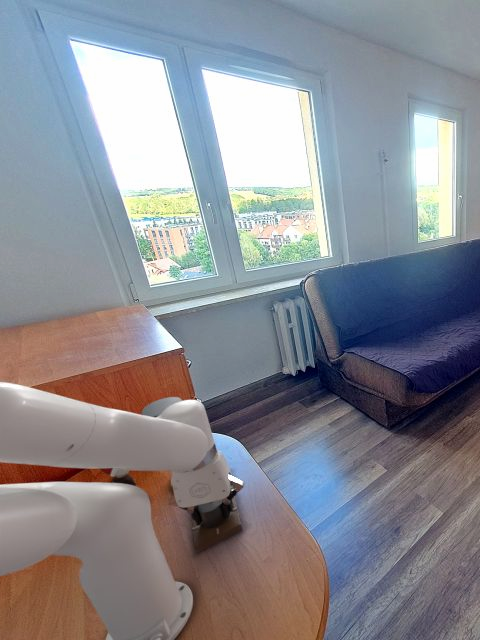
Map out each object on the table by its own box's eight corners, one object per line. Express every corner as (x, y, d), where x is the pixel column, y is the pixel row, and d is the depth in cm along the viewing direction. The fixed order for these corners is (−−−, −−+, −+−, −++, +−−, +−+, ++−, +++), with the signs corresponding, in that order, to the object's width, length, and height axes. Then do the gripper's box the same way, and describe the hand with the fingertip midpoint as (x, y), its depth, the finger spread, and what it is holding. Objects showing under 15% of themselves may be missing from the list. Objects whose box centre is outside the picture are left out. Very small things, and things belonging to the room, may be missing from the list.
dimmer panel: (243, 529, 77) (241, 523, 76) (196, 553, 72) (193, 547, 71) (235, 499, 85) (234, 493, 84) (192, 519, 79) (190, 513, 79)
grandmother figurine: (155, 498, 85) (140, 459, 80) (142, 511, 81) (125, 472, 77) (128, 495, 86) (111, 457, 81) (113, 508, 82) (95, 469, 78)
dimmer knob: (225, 524, 76) (220, 507, 74) (200, 531, 75) (194, 514, 73) (229, 506, 81) (225, 490, 79) (206, 512, 79) (200, 496, 77)
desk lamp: (205, 482, 90) (182, 408, 81) (169, 497, 85) (140, 420, 77) (203, 464, 96) (181, 393, 87) (168, 477, 91) (142, 404, 83)
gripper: (139, 478, 65) (165, 542, 72) (237, 458, 70) (252, 520, 77) (155, 452, 72) (178, 512, 78) (243, 435, 77) (257, 493, 83)
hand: (214, 515), depth 77 cm, fingers closed on dimmer knob, 5 cm apart
